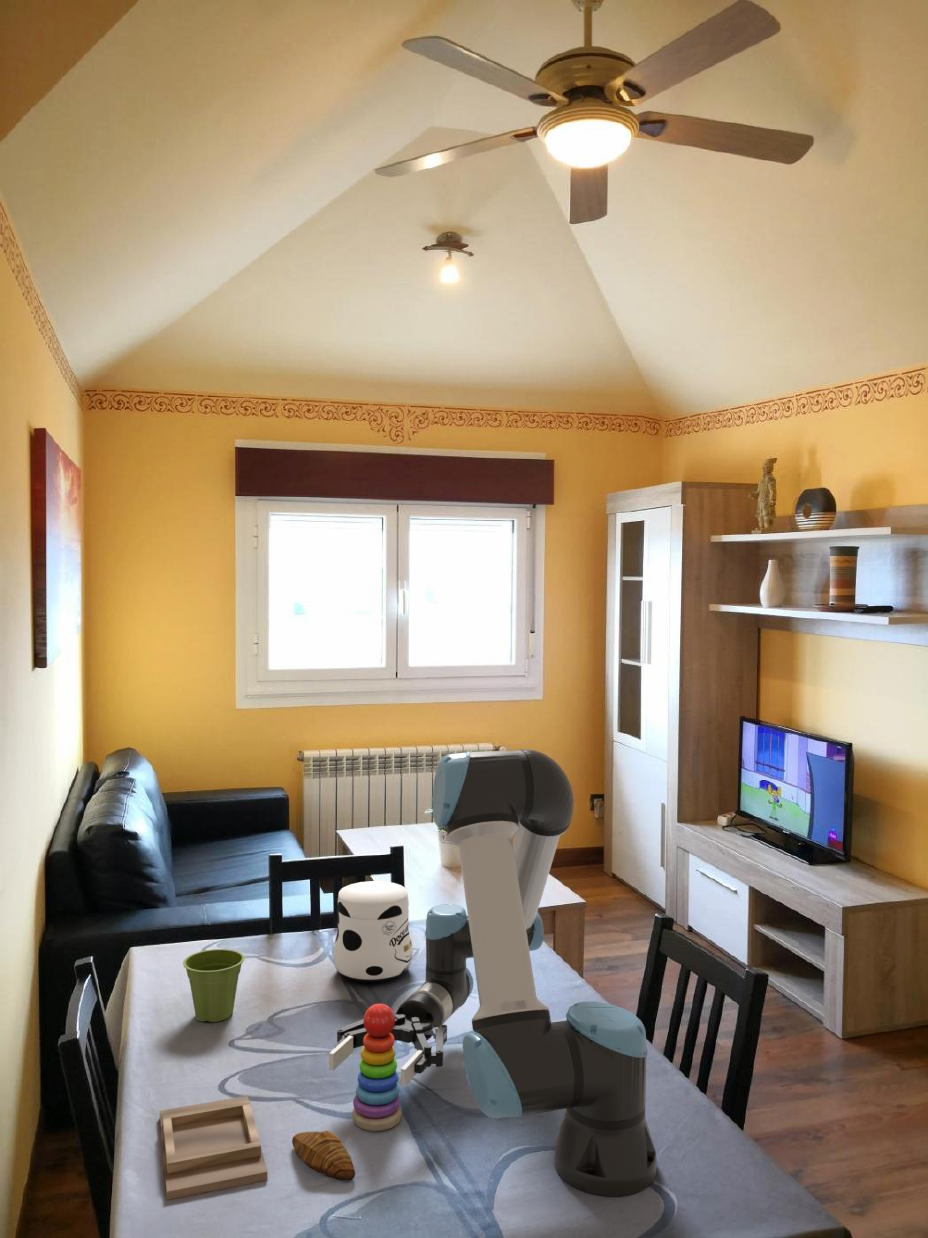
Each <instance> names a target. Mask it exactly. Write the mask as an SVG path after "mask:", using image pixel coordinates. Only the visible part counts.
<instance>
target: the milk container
mask: <svg viewBox="0 0 928 1238" xmlns="http://www.w3.org/2000/svg"><path fill="white" fill-rule="evenodd" d="M409 912H410V910H409V894H408V890H407V888H406V887H404V886H403V885H401V884H399V883H397V882H396V883H395V882H390V881H383V880H382V881H381V880H380V881H376V880H375V881H374V880H372V881H360V882H359V881H358V882H355V883H350V884H348V885H346V886H344V887H342V888H340V890H339V891H338V897H337V917H336V918H337V933H336V937H335V942H334V945H333V961H334V965H335V969H336V971H337V972H338V973H339V974H340V975H342V977H345V978H347V979H349V980H352V981H357V982H362V983H364V982H365V983H369V982H370V983H378V982H385V981H386V982H387V981H390V980H392V979H396V978H398V977H399V976H401V975H403V974H404V973H406V972H407V971H408V970H409V968H410V966H411V964H412V960H413V952H414V951H413V943H412V937H411V935H410V931H409V916H410V915H409Z"/></svg>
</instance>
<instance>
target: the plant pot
mask: <svg viewBox="0 0 928 1238" xmlns="http://www.w3.org/2000/svg"><path fill="white" fill-rule="evenodd" d="M244 961H245V955H244V954H243V953H242V952H240V951H238V950H234V949H228V948H213V949H205V950H201V951H197V952H194V953H192V954H190V955H188V956H187V957H185V958H184V959H183V961H182V965H183V967H184V968H185V970H186V975H187V978H188V980H189V984H190V991H191V997H192V1003H193V1009H194V1014H195V1018H196V1020H198V1021H201V1022H202V1023H203V1022H206V1021H207V1022H209V1023H217V1022H221V1021H225V1020H227V1019H229V1018H230V1017H231V1015H232V1014H233V1013H234V1008H235V1001H236V995H237V987H238V981H239V975H240V974H241V968H242V964H243V963H244Z"/></svg>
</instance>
